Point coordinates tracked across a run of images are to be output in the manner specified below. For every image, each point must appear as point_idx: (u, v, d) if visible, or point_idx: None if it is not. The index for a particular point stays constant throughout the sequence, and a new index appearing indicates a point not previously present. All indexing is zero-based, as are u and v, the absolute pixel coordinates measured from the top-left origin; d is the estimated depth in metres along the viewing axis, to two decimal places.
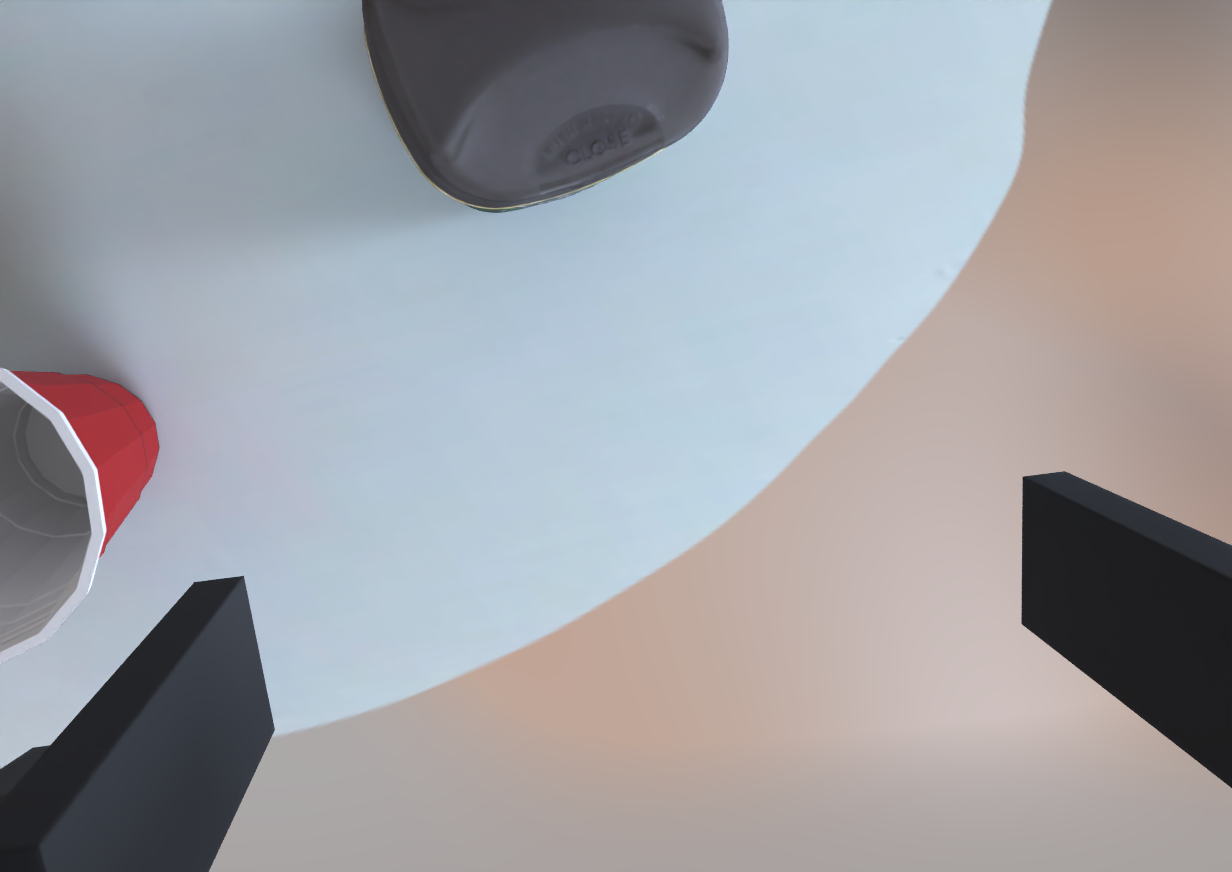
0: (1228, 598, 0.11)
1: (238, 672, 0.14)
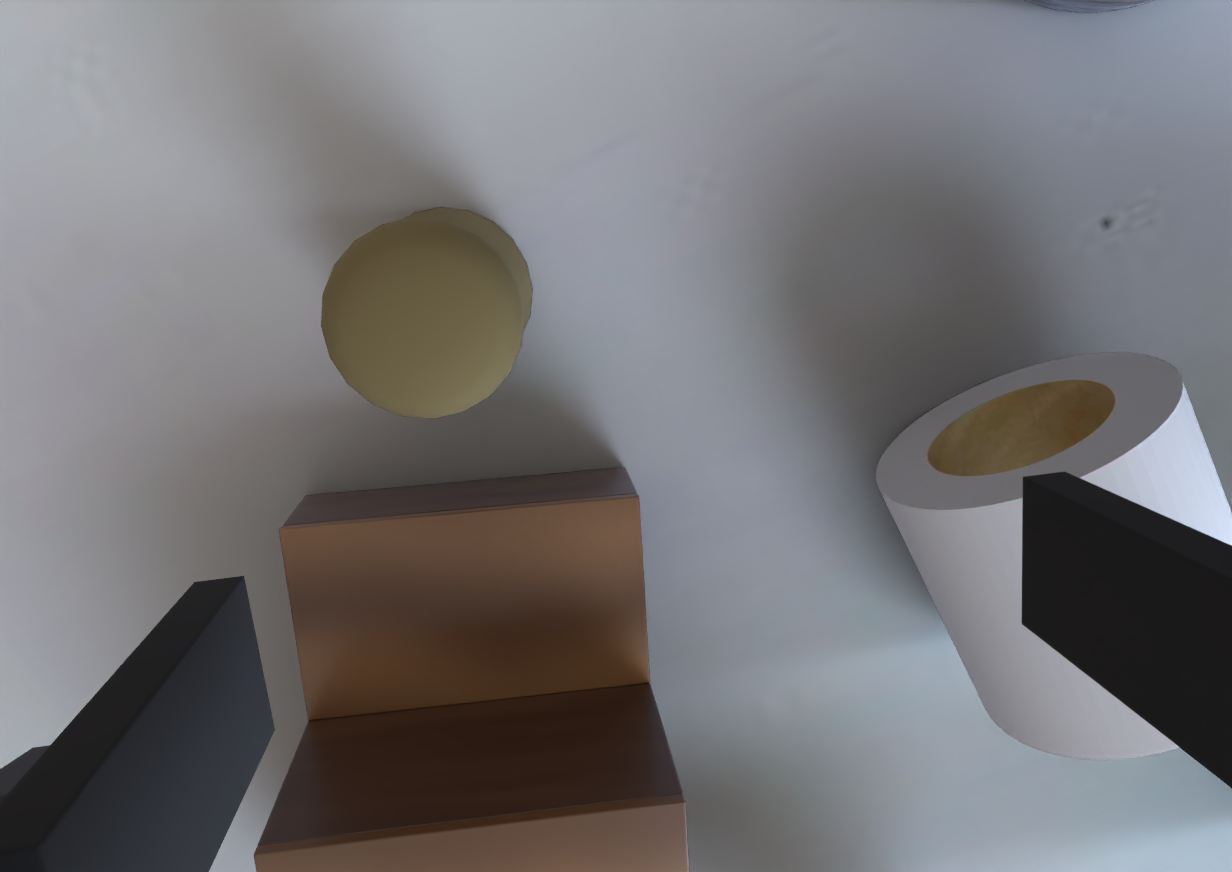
0: (1228, 598, 0.11)
1: (238, 672, 0.14)
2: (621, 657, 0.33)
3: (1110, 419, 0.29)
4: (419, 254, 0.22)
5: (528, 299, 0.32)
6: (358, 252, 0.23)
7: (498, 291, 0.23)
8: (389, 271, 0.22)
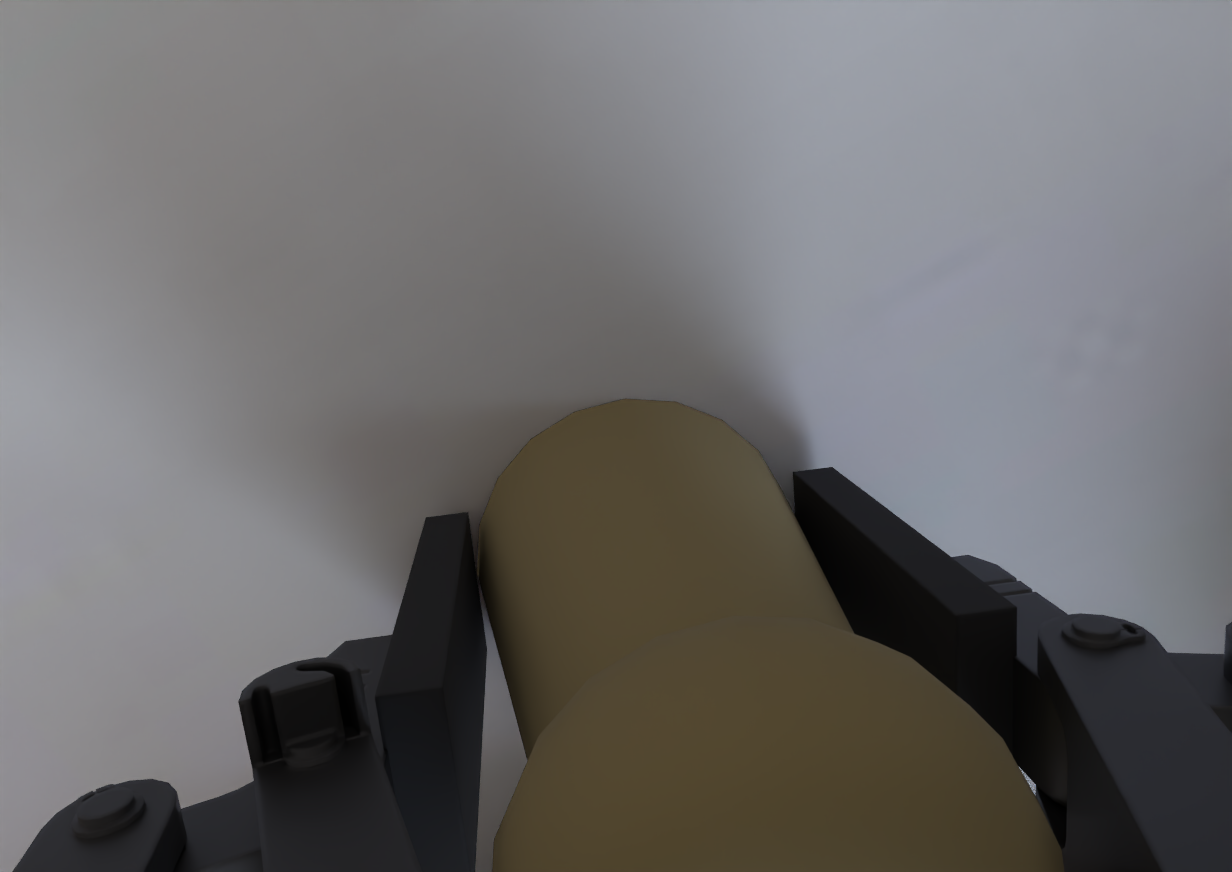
0: (894, 577, 0.13)
1: (474, 592, 0.16)
2: None
3: None
4: (838, 842, 0.07)
5: None
6: (628, 826, 0.07)
7: None
8: None
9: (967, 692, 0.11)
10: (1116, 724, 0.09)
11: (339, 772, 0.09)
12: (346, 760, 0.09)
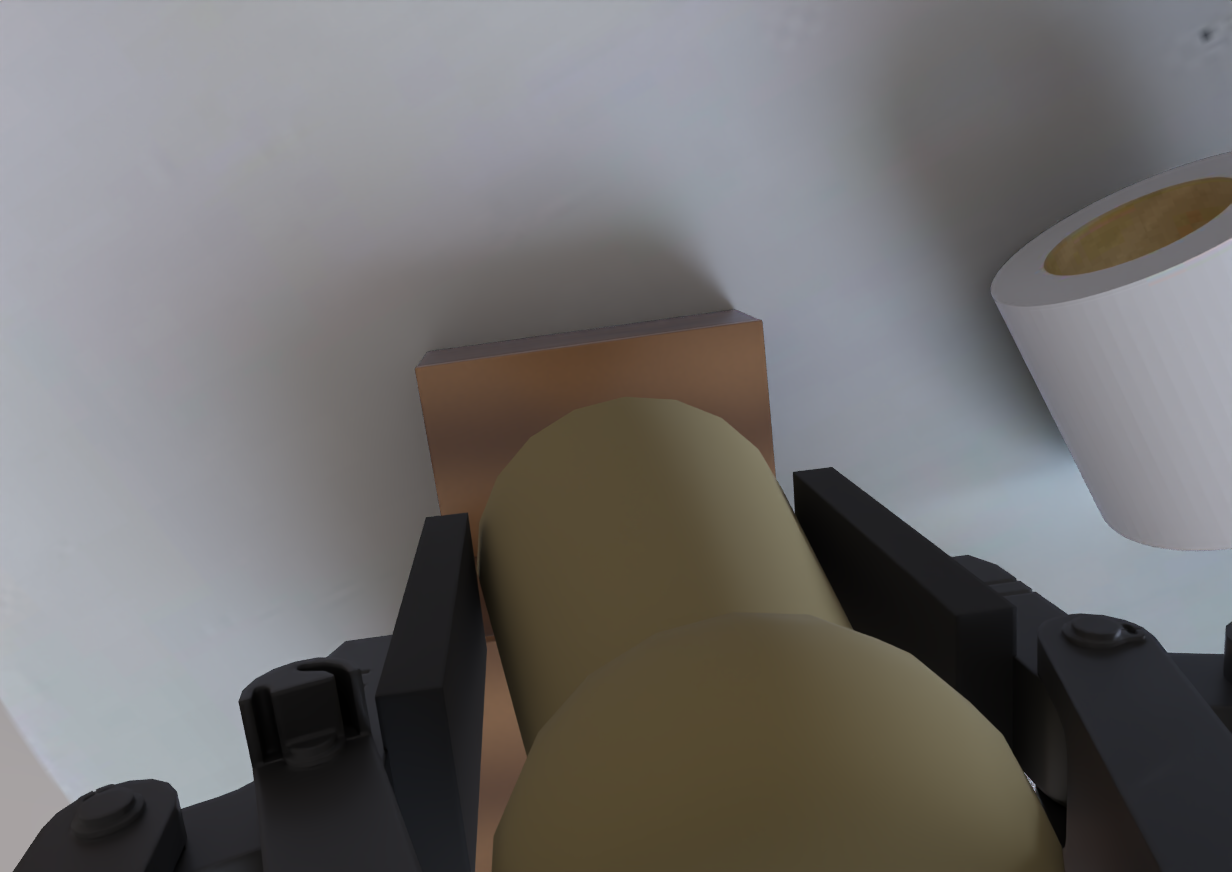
0: (893, 577, 0.13)
1: (474, 592, 0.16)
2: None
3: None
4: (837, 837, 0.07)
5: None
6: (627, 822, 0.07)
7: None
8: None
9: (967, 692, 0.11)
10: (1116, 724, 0.09)
11: (339, 772, 0.09)
12: (346, 760, 0.09)
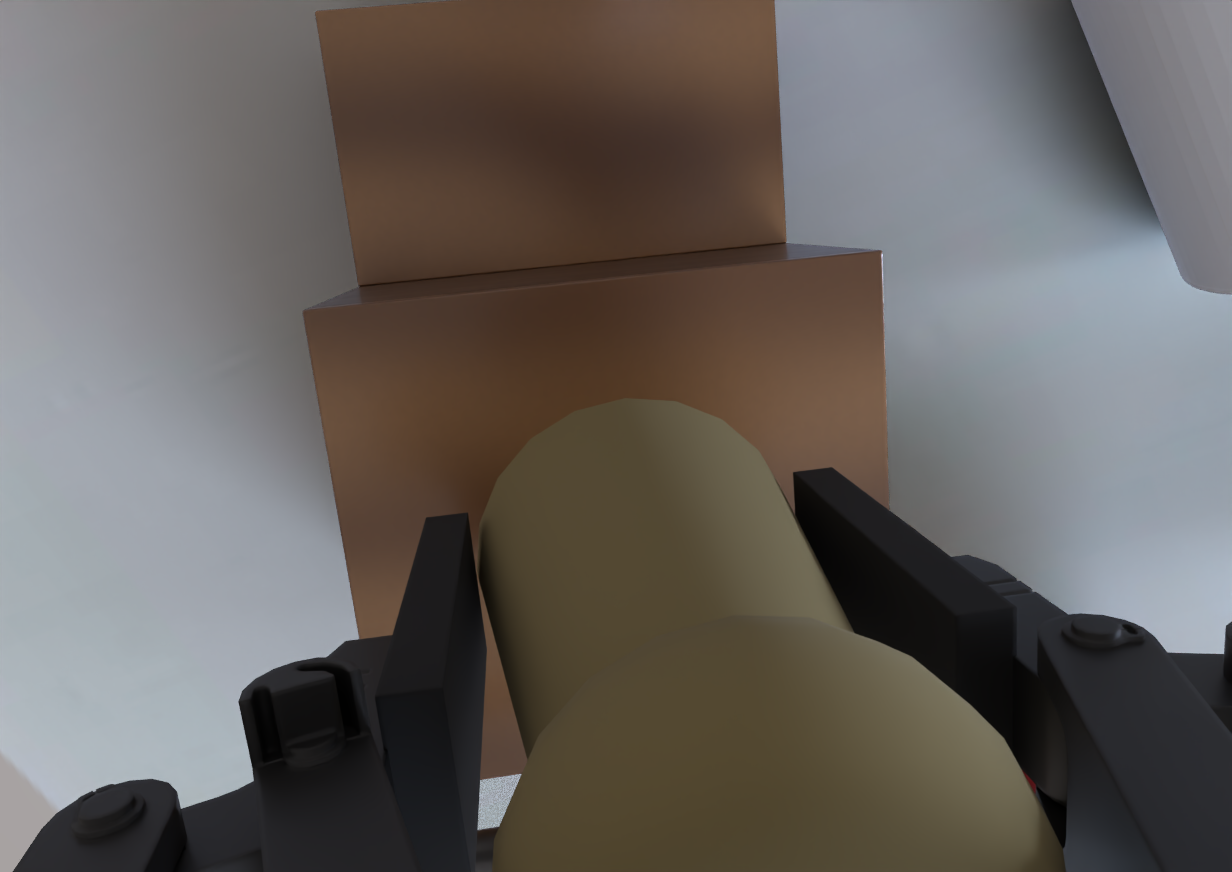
0: (894, 577, 0.13)
1: (474, 592, 0.16)
2: (751, 205, 0.26)
3: None
4: (839, 842, 0.07)
5: None
6: (628, 825, 0.07)
7: None
8: None
9: (967, 692, 0.11)
10: (1115, 724, 0.09)
11: (339, 772, 0.09)
12: (346, 760, 0.09)
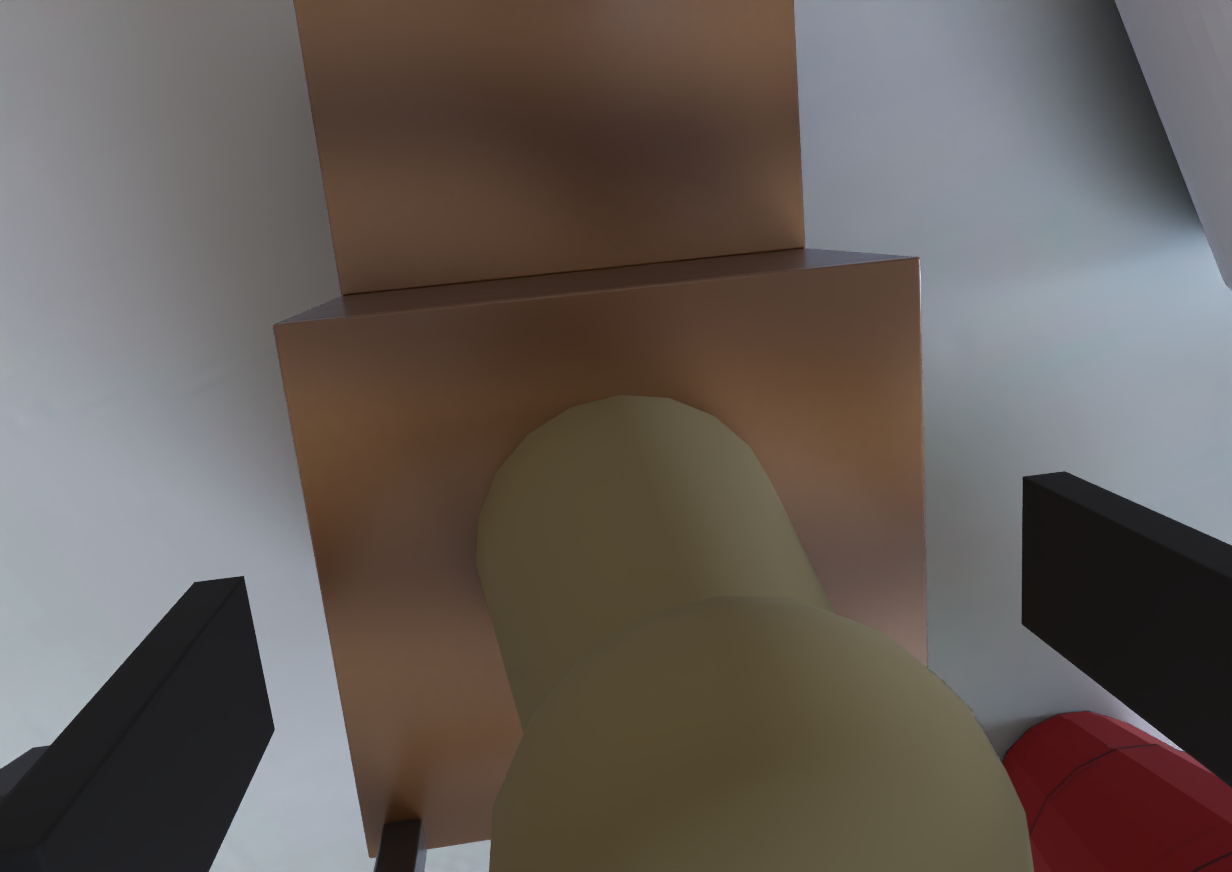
0: (1228, 598, 0.11)
1: (238, 672, 0.14)
2: (767, 207, 0.24)
3: None
4: (814, 800, 0.07)
5: None
6: (618, 786, 0.07)
7: (1020, 858, 0.08)
8: (725, 859, 0.07)
9: None
10: None
11: None
12: None
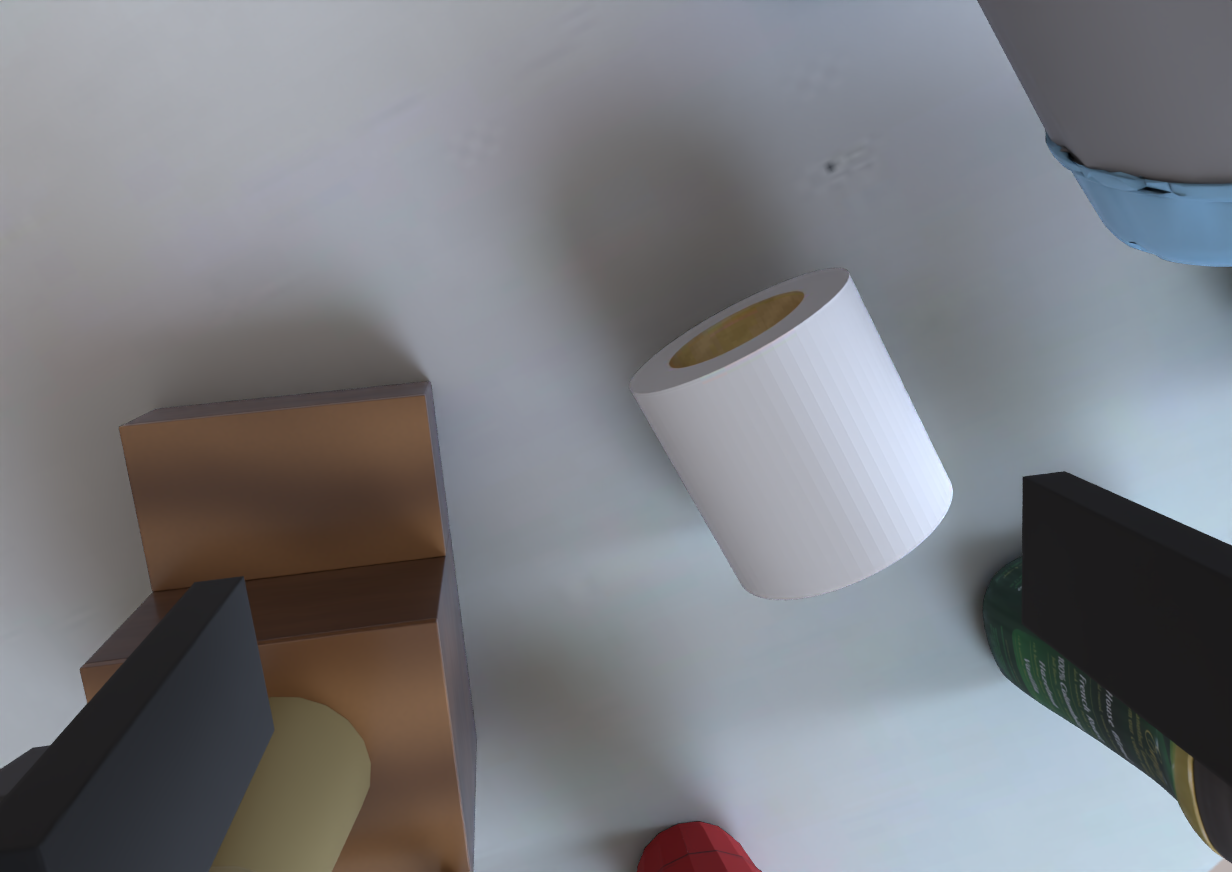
0: (1228, 598, 0.11)
1: (238, 672, 0.14)
2: (419, 533, 0.39)
3: (790, 314, 0.35)
4: None
5: (362, 788, 0.32)
6: None
7: None
8: None
9: None
10: None
11: None
12: None
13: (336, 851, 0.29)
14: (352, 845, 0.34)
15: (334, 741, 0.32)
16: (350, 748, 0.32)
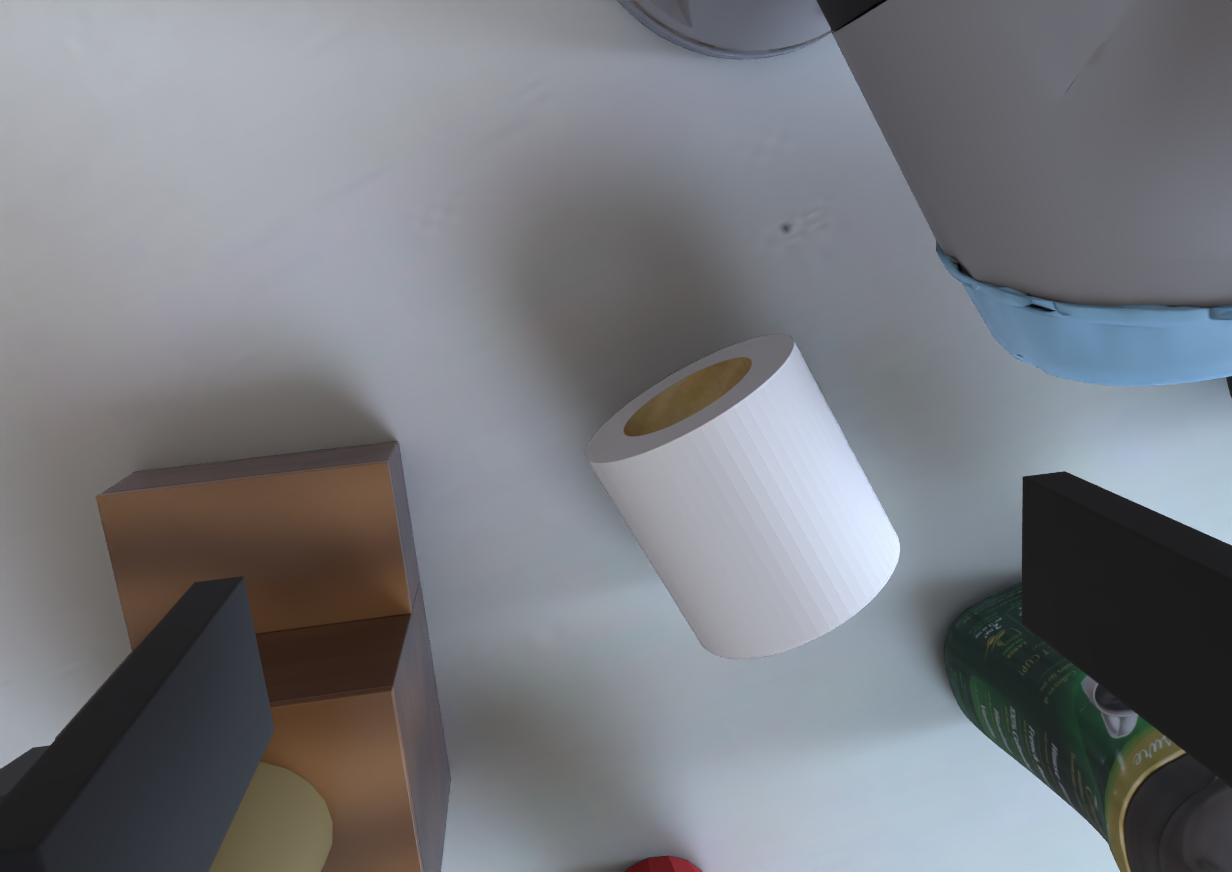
0: (1228, 598, 0.11)
1: (238, 672, 0.14)
2: (385, 592, 0.41)
3: (735, 387, 0.36)
4: None
5: (322, 848, 0.34)
6: None
7: None
8: None
9: None
10: None
11: None
12: None
13: None
14: None
15: (294, 806, 0.33)
16: (310, 811, 0.34)
